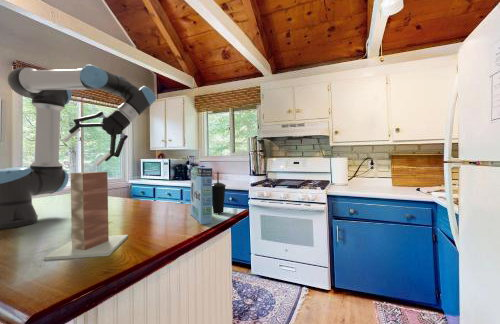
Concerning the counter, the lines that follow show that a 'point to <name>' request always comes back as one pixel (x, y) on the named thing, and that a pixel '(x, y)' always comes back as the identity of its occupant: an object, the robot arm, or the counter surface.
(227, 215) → the counter surface
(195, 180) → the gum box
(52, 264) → the counter surface
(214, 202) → the drinking cup
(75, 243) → the wooden block tower
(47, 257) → the mat
